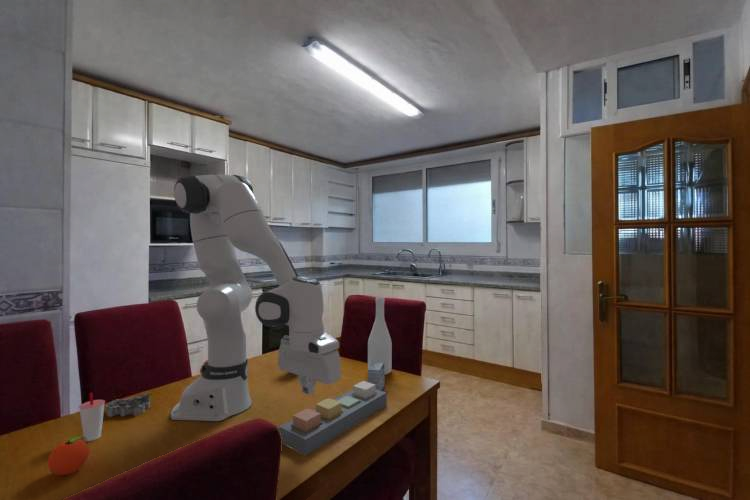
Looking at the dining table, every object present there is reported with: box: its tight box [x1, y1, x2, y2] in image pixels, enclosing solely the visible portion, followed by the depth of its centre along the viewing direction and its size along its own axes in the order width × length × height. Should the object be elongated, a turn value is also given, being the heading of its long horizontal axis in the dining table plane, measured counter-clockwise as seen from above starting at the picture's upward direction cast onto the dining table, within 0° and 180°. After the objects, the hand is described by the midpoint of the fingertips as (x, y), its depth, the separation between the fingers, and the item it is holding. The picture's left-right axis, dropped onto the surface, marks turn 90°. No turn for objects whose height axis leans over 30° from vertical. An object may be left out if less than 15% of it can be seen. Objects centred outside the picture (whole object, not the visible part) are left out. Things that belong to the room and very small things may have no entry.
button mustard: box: [315, 397, 341, 420], centre depth 98 cm, size 5×5×4 cm
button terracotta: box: [292, 407, 321, 433], centre depth 91 cm, size 5×5×4 cm
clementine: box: [47, 436, 90, 476], centre depth 79 cm, size 8×7×7 cm
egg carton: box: [104, 393, 152, 418], centre depth 107 cm, size 11×8×4 cm
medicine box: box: [367, 363, 385, 392], centre depth 123 cm, size 8×4×9 cm, turn 168°
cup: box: [78, 392, 106, 442], centre depth 92 cm, size 5×5×12 cm
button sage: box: [337, 396, 359, 409], centre depth 104 cm, size 5×5×4 cm
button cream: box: [352, 380, 376, 399], centre depth 111 cm, size 5×5×4 cm
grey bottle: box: [367, 296, 393, 376], centre depth 141 cm, size 10×10×30 cm
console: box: [278, 389, 388, 457], centre depth 101 cm, size 34×10×4 cm, turn 143°
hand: (308, 392), depth 91 cm, fingers closed
